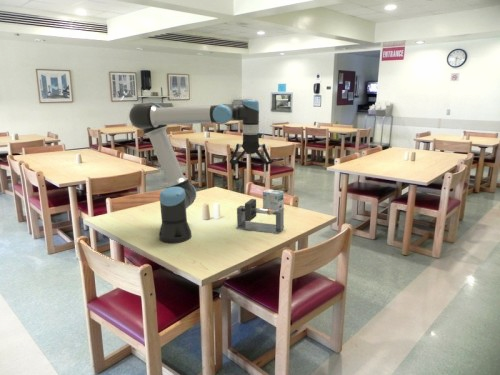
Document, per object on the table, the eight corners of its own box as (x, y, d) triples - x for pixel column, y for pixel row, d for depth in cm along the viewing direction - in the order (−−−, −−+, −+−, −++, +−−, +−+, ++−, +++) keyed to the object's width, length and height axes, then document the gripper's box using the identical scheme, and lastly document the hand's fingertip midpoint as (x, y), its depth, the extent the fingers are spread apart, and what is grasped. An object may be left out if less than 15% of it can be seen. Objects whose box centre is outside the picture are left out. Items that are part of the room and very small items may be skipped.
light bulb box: (283, 208, 219) (284, 190, 216) (278, 211, 213) (278, 193, 211) (268, 206, 225) (268, 188, 222) (262, 209, 219) (262, 191, 216)
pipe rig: (235, 228, 188) (234, 208, 185) (243, 222, 197) (242, 203, 194) (279, 233, 179) (279, 213, 177) (284, 227, 188) (285, 207, 186)
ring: (245, 220, 185) (244, 203, 183) (251, 215, 193) (251, 198, 191) (249, 221, 184) (249, 204, 182) (256, 216, 192) (256, 199, 190)
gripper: (223, 134, 171) (224, 179, 176) (277, 134, 169) (276, 180, 175) (225, 132, 179) (226, 175, 184) (277, 132, 177) (276, 176, 182)
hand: (250, 177), depth 179 cm, fingers open, 13 cm apart
